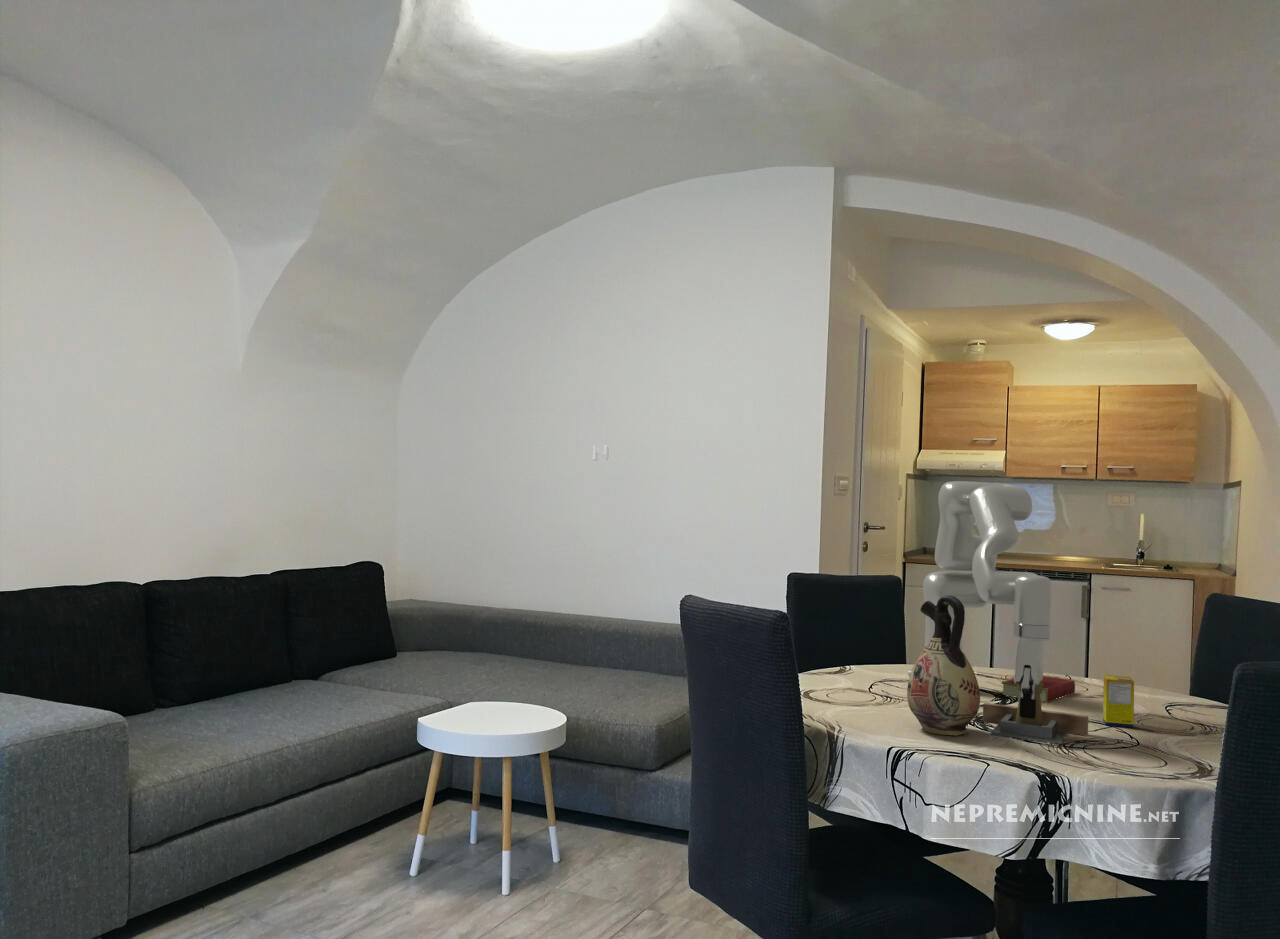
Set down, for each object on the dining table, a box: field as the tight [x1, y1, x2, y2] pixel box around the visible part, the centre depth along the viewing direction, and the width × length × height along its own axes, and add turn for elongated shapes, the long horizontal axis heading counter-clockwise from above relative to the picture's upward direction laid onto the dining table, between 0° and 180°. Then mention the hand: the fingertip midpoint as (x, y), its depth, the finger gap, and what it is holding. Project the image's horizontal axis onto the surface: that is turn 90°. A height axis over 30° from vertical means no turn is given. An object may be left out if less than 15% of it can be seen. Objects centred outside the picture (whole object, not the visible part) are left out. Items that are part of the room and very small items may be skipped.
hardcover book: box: [1000, 675, 1076, 703], centre depth 265 cm, size 12×21×4 cm, turn 138°
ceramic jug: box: [906, 595, 981, 737], centre depth 216 cm, size 17×15×30 cm
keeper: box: [990, 713, 1068, 745], centre depth 216 cm, size 14×12×3 cm
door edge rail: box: [982, 702, 1089, 736], centre depth 223 cm, size 22×2×4 cm, turn 61°
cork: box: [1015, 678, 1043, 725], centre depth 217 cm, size 6×6×11 cm
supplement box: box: [1102, 674, 1135, 729], centre depth 230 cm, size 6×6×11 cm
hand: (1029, 714), depth 216 cm, fingers open, 4 cm apart
